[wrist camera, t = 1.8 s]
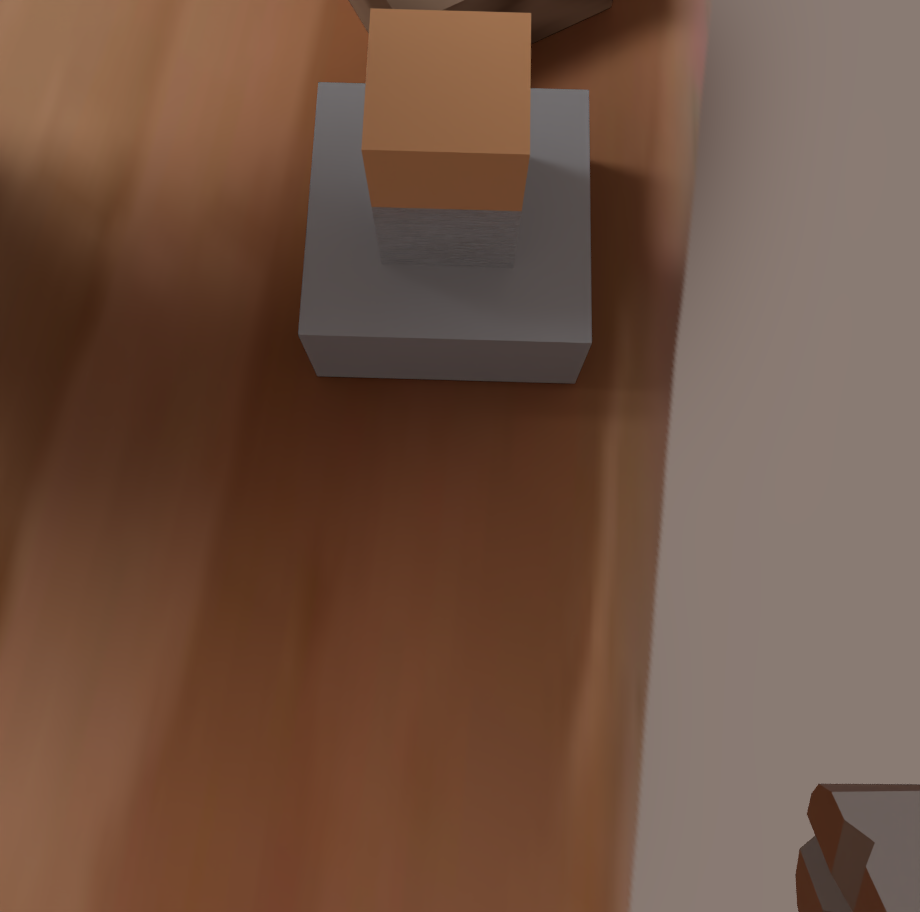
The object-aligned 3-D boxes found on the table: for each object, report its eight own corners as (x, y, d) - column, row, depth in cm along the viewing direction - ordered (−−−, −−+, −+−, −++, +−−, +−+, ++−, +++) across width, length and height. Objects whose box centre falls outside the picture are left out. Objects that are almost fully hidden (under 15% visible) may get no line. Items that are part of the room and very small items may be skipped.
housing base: (381, 264, 35) (371, 206, 31) (388, 148, 37) (379, 78, 32) (513, 268, 35) (521, 211, 31) (514, 152, 37) (523, 82, 32)
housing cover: (371, 206, 31) (361, 149, 28) (379, 78, 32) (370, 8, 29) (521, 211, 31) (529, 154, 28) (523, 82, 32) (531, 13, 29)
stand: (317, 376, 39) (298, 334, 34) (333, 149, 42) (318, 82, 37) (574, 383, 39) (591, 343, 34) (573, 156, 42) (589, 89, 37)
